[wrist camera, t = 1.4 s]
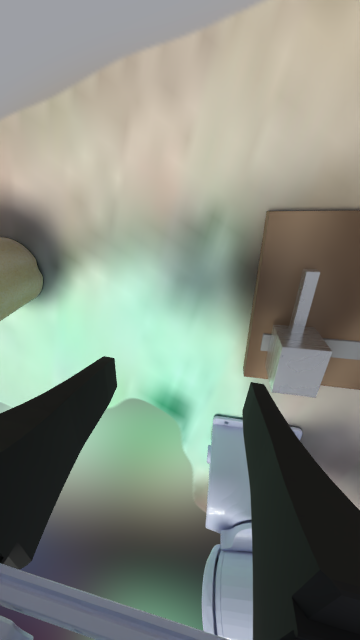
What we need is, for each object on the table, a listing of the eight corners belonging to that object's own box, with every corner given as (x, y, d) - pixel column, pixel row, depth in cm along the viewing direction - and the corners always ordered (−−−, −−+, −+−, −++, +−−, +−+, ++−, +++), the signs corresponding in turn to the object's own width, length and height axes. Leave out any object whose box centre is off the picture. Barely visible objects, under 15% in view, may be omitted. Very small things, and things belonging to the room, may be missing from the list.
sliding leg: (265, 365, 19) (271, 391, 16) (285, 267, 15) (298, 280, 12) (302, 369, 19) (315, 397, 16) (332, 269, 15) (357, 283, 12)
